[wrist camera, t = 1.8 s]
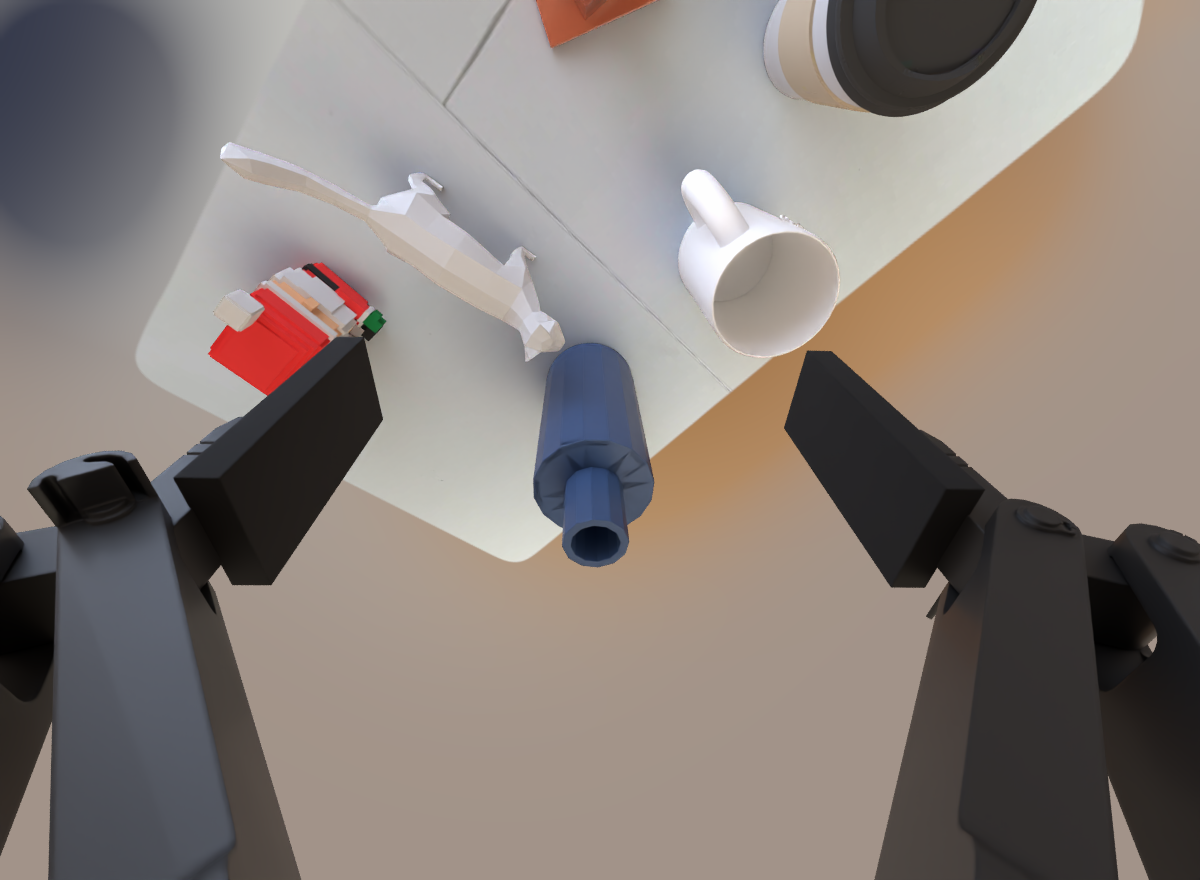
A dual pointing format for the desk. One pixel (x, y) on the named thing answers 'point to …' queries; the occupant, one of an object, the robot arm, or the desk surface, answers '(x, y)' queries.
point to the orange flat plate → (581, 17)
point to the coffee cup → (887, 50)
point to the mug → (754, 272)
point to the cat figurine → (425, 244)
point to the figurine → (288, 323)
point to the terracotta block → (589, 6)
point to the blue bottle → (592, 454)
